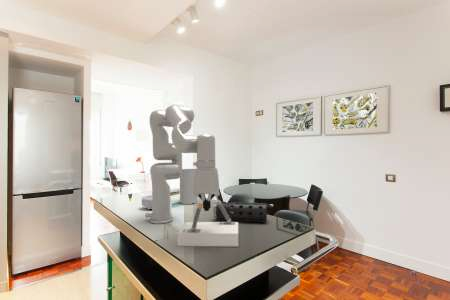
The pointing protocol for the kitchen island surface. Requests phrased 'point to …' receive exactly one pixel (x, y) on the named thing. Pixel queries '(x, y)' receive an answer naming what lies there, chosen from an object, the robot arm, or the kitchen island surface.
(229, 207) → the muzzle brake
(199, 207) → the lever
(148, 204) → the paper bowls
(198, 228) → the panel
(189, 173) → the cylinder vase
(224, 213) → the lever
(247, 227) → the kitchen island surface
